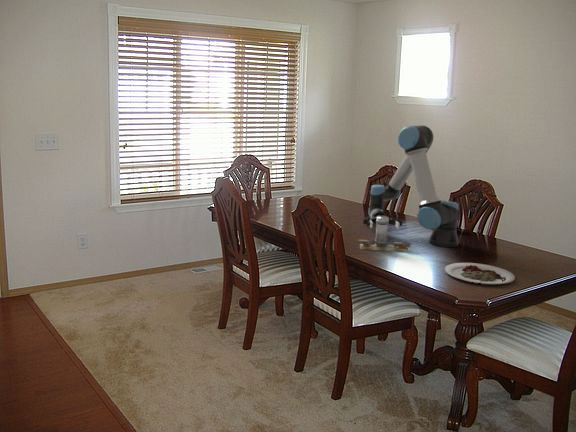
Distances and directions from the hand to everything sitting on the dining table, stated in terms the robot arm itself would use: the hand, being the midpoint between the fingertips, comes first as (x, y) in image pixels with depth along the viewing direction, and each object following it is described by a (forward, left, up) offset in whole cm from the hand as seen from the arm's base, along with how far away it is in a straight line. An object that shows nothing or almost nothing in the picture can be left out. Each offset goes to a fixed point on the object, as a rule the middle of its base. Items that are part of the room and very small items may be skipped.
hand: (385, 226), depth 311 cm
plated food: (-48, +25, -12) cm, 56 cm away
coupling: (+1, 0, -10) cm, 10 cm away
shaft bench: (0, 0, -12) cm, 12 cm away
